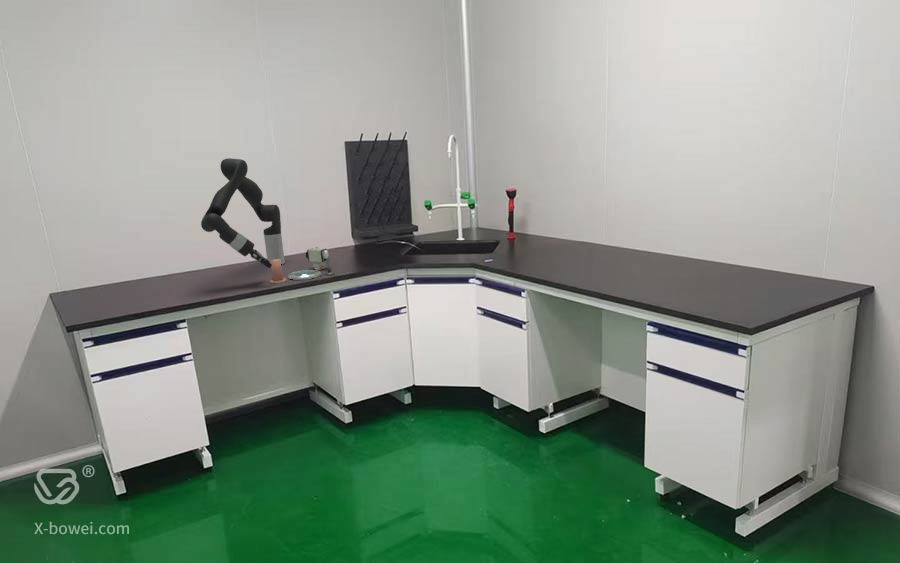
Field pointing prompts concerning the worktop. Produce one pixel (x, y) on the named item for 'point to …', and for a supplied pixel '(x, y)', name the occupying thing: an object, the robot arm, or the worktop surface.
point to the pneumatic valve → (316, 257)
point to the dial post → (327, 256)
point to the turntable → (304, 274)
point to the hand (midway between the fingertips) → (269, 264)
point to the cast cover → (277, 271)
